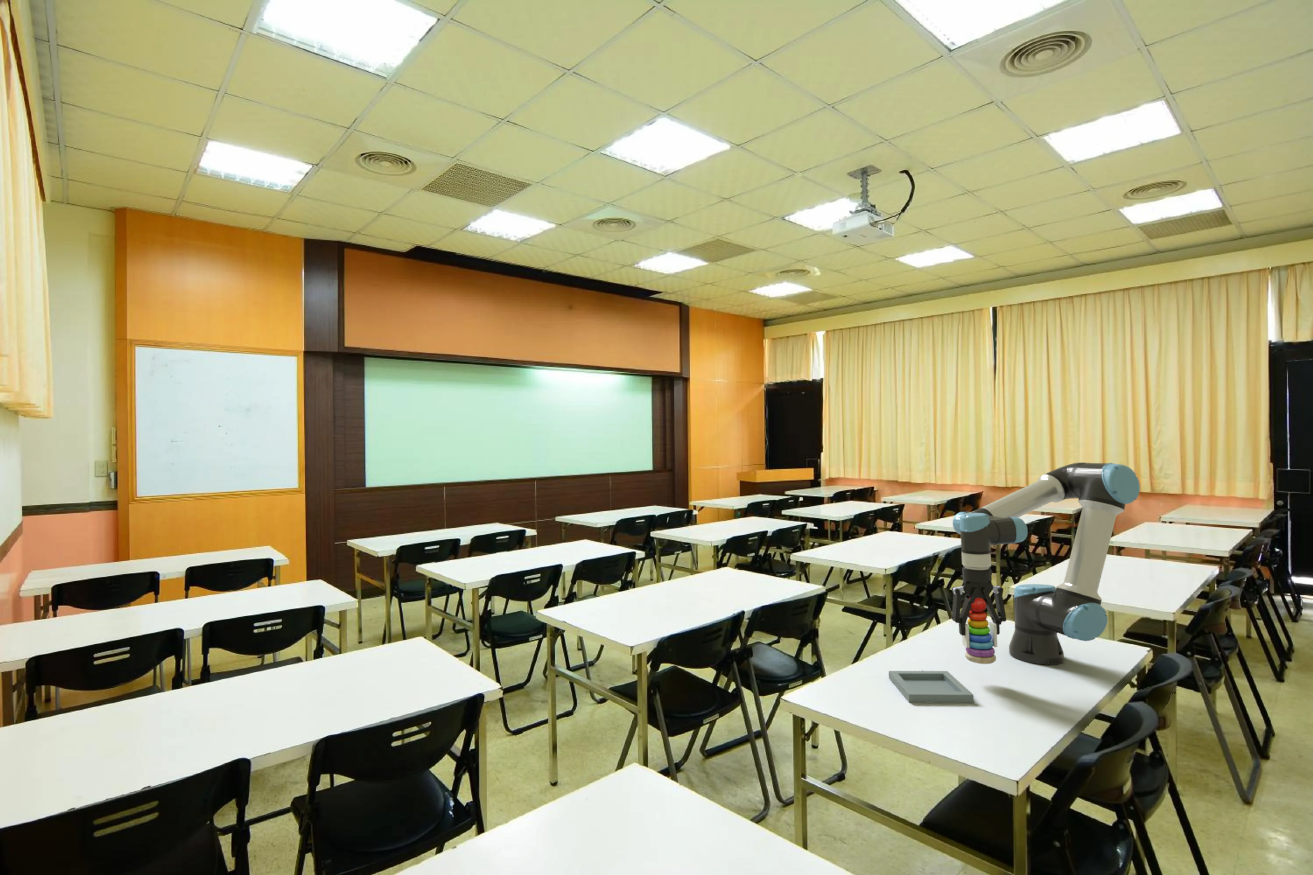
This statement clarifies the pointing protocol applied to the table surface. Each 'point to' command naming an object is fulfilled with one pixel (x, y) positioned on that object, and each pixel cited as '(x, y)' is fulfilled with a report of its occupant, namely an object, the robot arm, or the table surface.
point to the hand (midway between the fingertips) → (980, 645)
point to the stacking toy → (979, 635)
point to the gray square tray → (930, 687)
